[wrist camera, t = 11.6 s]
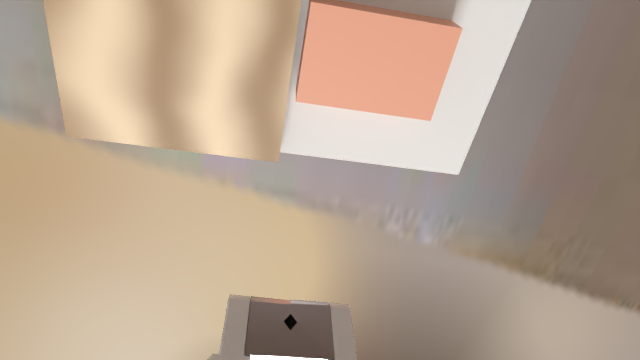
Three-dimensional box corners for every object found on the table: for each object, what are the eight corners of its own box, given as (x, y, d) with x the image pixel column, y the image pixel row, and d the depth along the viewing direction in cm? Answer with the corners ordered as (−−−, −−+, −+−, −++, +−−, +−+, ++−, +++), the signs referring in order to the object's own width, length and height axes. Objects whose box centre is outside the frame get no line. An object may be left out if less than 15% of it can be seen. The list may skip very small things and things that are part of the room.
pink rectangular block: (452, 20, 26) (462, 28, 25) (422, 108, 29) (430, 121, 28) (309, -5, 25) (311, 1, 23) (295, 90, 28) (295, 101, 26)
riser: (315, -109, 23) (316, -110, 21) (279, 148, 31) (278, 162, 29) (35, -169, 21) (13, -176, 19) (79, 123, 29) (66, 136, 28)
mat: (550, -58, 24) (555, -58, 24) (456, 171, 33) (458, 174, 33) (315, -109, 23) (315, -109, 22) (279, 148, 31) (279, 151, 31)
